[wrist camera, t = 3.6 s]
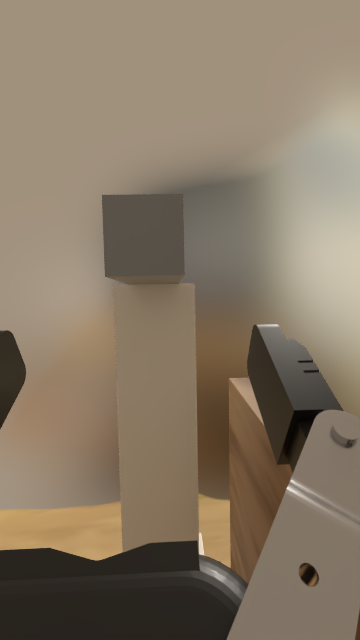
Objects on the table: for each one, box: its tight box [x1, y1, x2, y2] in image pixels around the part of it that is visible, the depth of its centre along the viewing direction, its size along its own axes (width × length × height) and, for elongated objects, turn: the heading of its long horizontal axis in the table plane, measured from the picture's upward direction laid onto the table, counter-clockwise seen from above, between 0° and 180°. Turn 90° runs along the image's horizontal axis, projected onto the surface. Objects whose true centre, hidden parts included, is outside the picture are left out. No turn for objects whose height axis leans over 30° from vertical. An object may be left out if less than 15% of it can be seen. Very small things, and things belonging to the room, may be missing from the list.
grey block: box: [102, 194, 184, 285], centre depth 27 cm, size 4×24×4 cm, turn 2°
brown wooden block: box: [229, 378, 360, 640], centre depth 25 cm, size 6×18×22 cm, turn 2°
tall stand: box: [113, 283, 204, 555], centre depth 31 cm, size 9×13×32 cm
